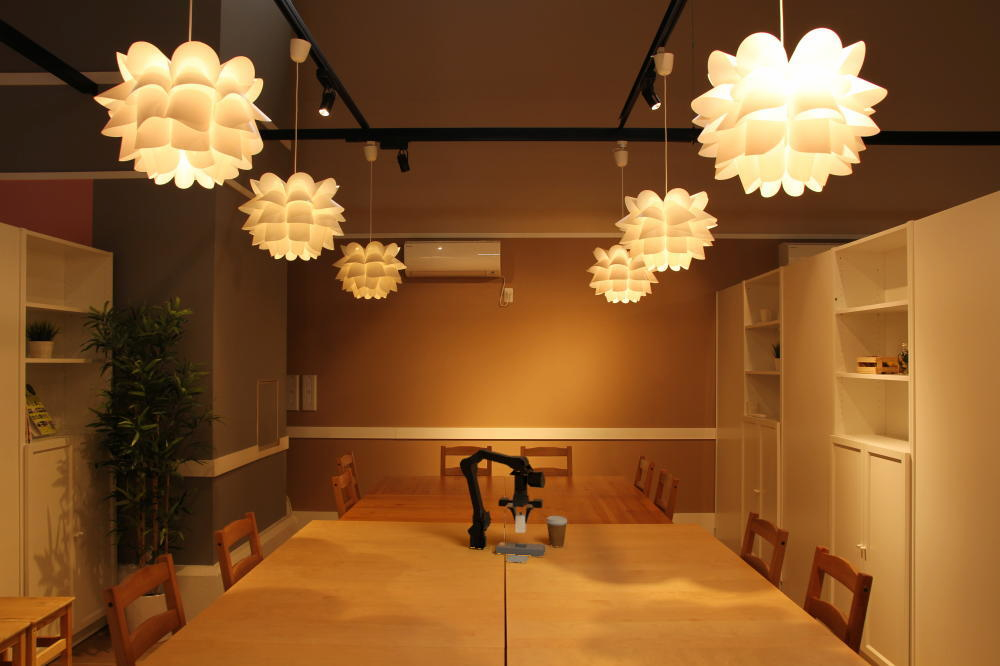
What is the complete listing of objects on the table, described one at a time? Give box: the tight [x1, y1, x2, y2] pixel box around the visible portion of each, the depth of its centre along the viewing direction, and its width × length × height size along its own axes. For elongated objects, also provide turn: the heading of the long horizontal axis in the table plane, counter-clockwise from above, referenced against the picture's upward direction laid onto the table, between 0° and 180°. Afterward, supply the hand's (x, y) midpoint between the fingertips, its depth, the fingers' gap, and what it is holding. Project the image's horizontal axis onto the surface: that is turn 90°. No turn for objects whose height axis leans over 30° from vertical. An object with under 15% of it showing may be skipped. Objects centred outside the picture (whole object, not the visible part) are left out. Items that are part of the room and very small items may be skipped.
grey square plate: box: [505, 555, 529, 563], centre depth 251 cm, size 8×8×1 cm
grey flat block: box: [495, 541, 546, 557], centre depth 260 cm, size 20×8×4 cm, turn 79°
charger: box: [514, 511, 527, 534], centre depth 261 cm, size 4×4×8 cm
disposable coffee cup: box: [545, 515, 568, 547], centre depth 272 cm, size 10×10×12 cm
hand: (520, 523), depth 261 cm, fingers closed on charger, 4 cm apart
